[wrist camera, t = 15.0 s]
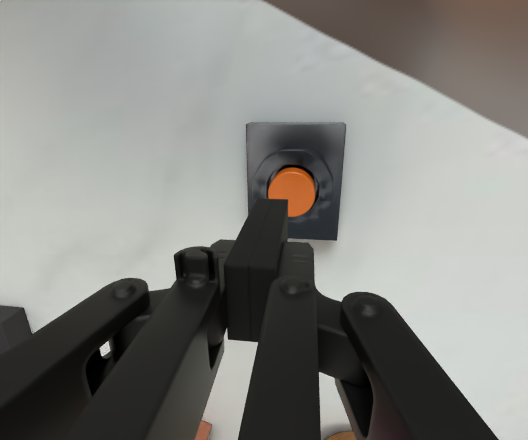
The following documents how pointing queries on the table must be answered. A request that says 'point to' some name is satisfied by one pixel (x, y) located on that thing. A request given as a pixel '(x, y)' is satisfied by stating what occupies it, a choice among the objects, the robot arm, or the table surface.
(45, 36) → the table surface
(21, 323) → the timer panel
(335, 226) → the button block
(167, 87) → the table surface
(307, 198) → the button
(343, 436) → the bread roll
